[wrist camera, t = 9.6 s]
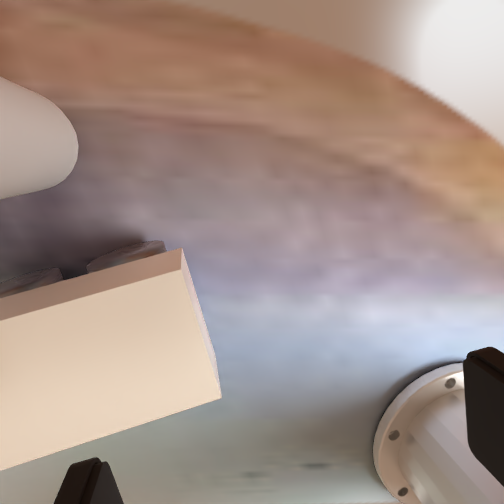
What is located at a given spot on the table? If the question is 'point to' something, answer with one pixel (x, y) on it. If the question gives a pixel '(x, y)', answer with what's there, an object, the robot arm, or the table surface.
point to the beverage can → (33, 142)
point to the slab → (101, 356)
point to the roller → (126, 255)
